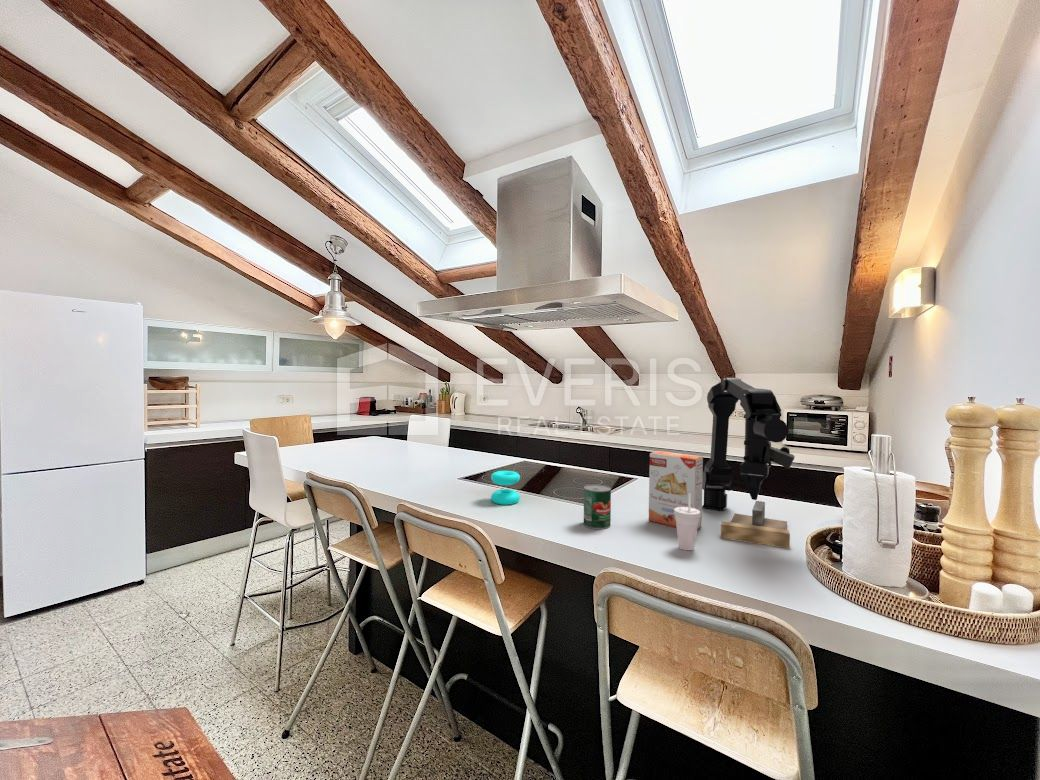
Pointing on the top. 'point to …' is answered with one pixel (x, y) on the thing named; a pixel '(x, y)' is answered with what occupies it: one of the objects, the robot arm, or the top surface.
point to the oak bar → (755, 534)
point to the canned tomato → (597, 506)
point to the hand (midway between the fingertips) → (755, 495)
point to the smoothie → (687, 525)
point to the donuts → (505, 495)
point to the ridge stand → (759, 518)
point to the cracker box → (674, 485)
